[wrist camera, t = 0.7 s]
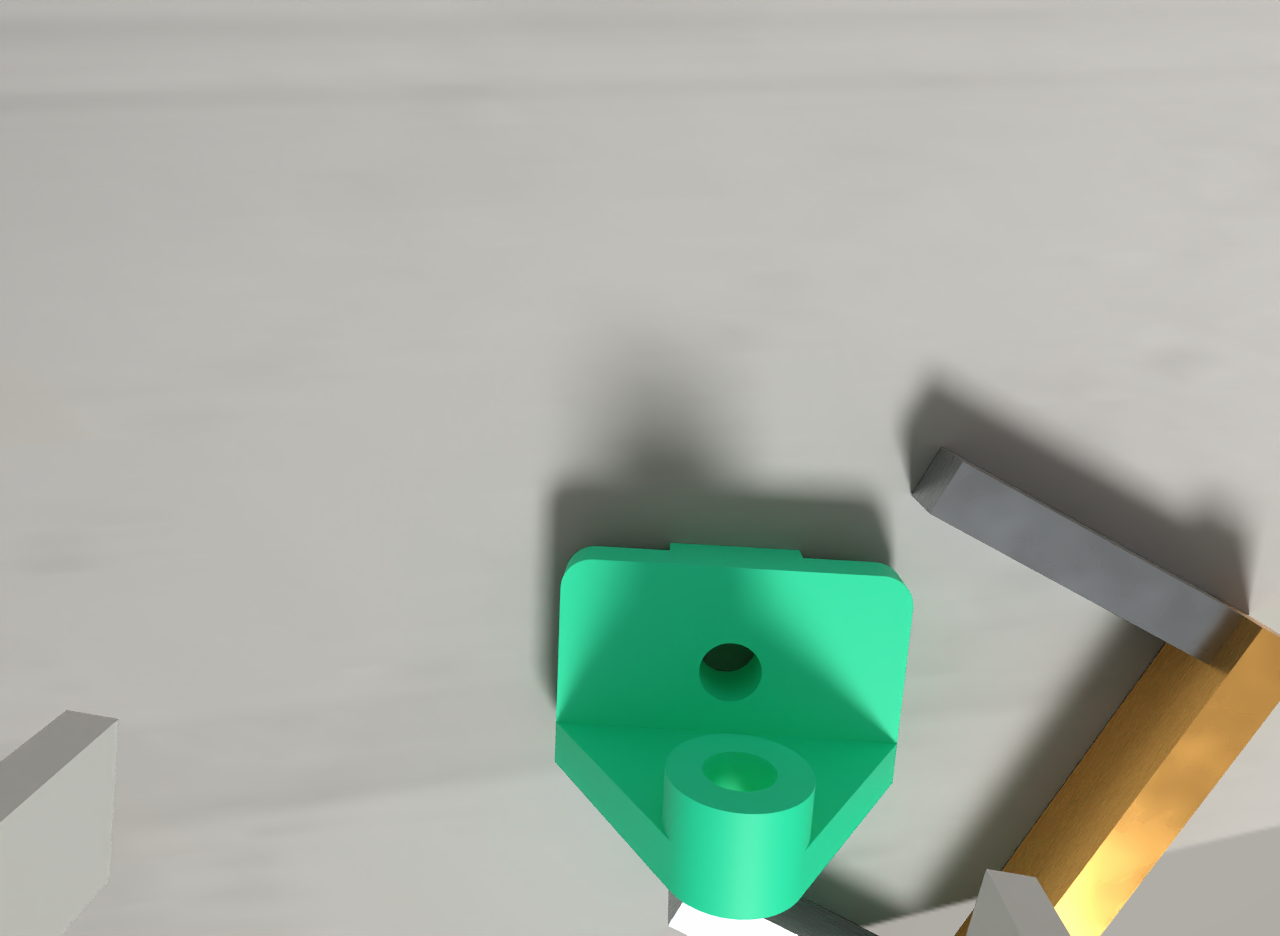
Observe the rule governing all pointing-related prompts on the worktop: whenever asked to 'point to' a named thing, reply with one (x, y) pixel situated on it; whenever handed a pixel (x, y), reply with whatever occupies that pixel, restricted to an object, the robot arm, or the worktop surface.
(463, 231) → the worktop surface
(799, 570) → the camera mount
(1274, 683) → the dock
